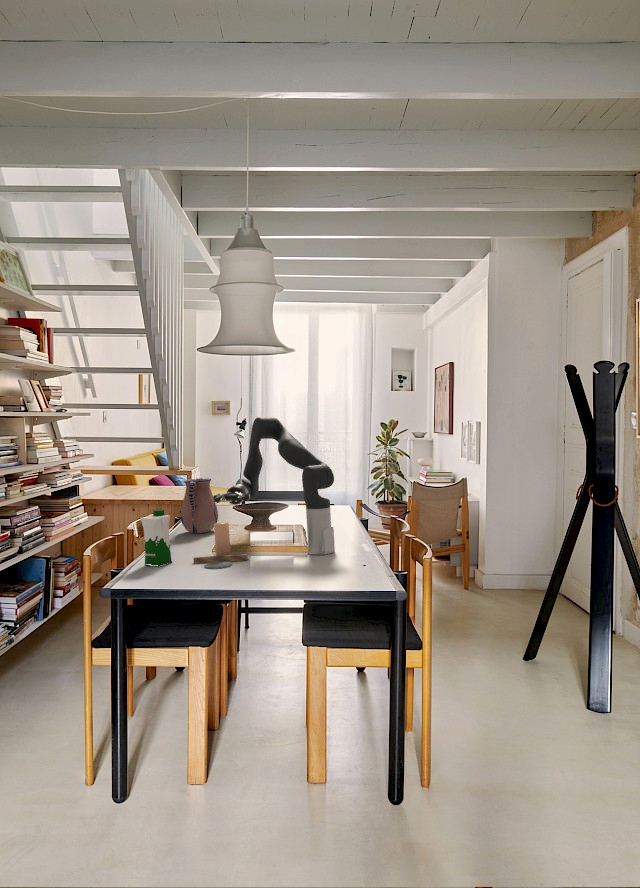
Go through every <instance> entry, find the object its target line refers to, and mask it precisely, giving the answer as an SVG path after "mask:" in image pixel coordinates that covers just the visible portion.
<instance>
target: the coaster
mask: <svg viewBox="0 0 640 888" xmlns="http://www.w3.org/2000/svg"><path fill="white" fill-rule="evenodd" d="M232 566H233V563H232V561H226V562H209V563H207V564H205V565H204V566H203V567H204V569H209V570H218V569H220V570H221V569H226V568H230V567H232Z"/></svg>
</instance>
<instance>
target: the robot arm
mask: <svg viewBox="0 0 640 888" xmlns="http://www.w3.org/2000/svg"><path fill="white" fill-rule="evenodd" d="M266 439H267V440H269V439H270V440H271V439H272V440H275V441H276V442H277V443H278V444H277V449H278V450H277V451H278V454H279V455H280V457H281V459H283V460H284V461H285V462H286V463H287V464H289V465H290V466H292V467H295V468H298V469H299V470H302V473H301V474H302V475H301V482H302V491H303V499H304V503H305V511H306V512H305V513H306V514H305V515H306V531H307V549H308V552H307V553H308V555H318V556H319V555H323V556H325V555H329V554H332V553H335V552H336V547H335V546H336V545H335V531H334V526H332V515H331V514H332V513H331V501H330V499H328V498H325V497H322V496H321V495H320V494H319V490H325V489H328V488H330V487H332V486H333V485H334V482H335V475H334V472H333V470H332V468H331V467H330V466H329V465H328V464H326V463H325V462H324V461H322V460H321V459H319V458H318V457H316V456H315V455H314V454H313V453H312V452H311V451H309V450H308V449H307V448H306V447H305V446H304V445H303V444H302V443H301V442H300V441H299V440H298V439H296V438H295V436H293V434H291V432H289V430H287V428H286V427H285V426H284V425H283V423H282V422H281V421H280V420H279V419H278V418H277V417H273V416H258V417H256V418H255V419H254V420H253V422H252V425H251V432H250V439H249V447H248V455H247V459H246V462H245V466H244V469H243V473H242V475H243V477H244V478H239V479H237V480H236V482H235V484H234V485H233V486H231V487H230V488H228V489H227V491H226V493H224V492H223V493H216V494H214V495H213V498H214V502H215V503H216V504H220V503H221V502H222V503H229V504H231V505H239V504H241V503H243V502H244V501H245V502H248V501H249V500H253V499H255V498H257V496H258V494H259V491H260V487H259V486H260V483H259V480H260V479H259V478H260V474H261V471H262V468H263V462H264V461H263V460H264V459H263V456H262V452H261V450H260V444H261V441H262V440H266Z"/></svg>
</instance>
